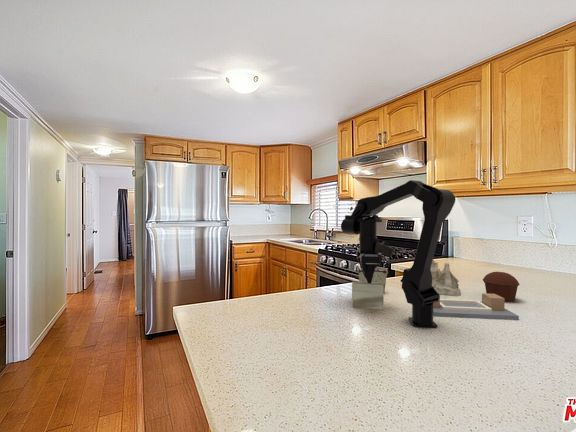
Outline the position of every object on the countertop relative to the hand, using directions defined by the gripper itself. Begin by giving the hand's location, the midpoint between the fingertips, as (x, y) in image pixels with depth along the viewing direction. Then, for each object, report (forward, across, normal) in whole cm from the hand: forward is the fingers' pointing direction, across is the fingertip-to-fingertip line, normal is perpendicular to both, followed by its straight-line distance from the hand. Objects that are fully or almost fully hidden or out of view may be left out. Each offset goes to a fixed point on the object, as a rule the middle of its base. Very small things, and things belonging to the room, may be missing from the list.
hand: (367, 280), depth 109 cm
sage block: (+9, 0, 0) cm, 9 cm away
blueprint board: (+9, 0, -30) cm, 32 cm away
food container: (+9, +21, -4) cm, 23 cm away
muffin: (+9, +17, -51) cm, 54 cm away
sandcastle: (+9, +27, -32) cm, 43 cm away
